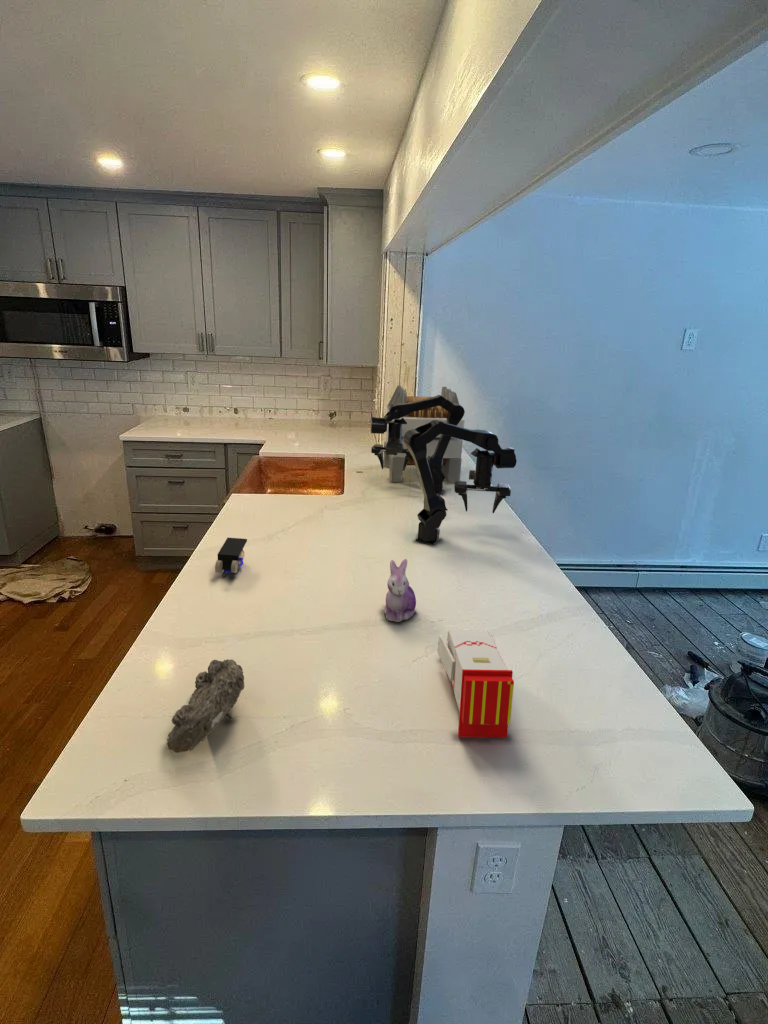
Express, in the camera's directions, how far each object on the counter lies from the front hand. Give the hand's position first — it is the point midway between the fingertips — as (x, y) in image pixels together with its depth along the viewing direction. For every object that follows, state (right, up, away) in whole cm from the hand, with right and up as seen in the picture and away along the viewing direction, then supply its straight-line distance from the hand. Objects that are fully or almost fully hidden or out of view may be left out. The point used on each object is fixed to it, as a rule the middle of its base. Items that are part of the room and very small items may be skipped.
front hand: (479, 512), depth 197 cm
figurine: (-29, -27, -49) cm, 63 cm away
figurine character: (-78, -17, -29) cm, 85 cm away
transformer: (-16, +19, +78) cm, 82 cm away
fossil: (-66, -39, -89) cm, 117 cm away
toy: (-15, -38, -78) cm, 88 cm away
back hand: (-29, +18, +46) cm, 58 cm away
